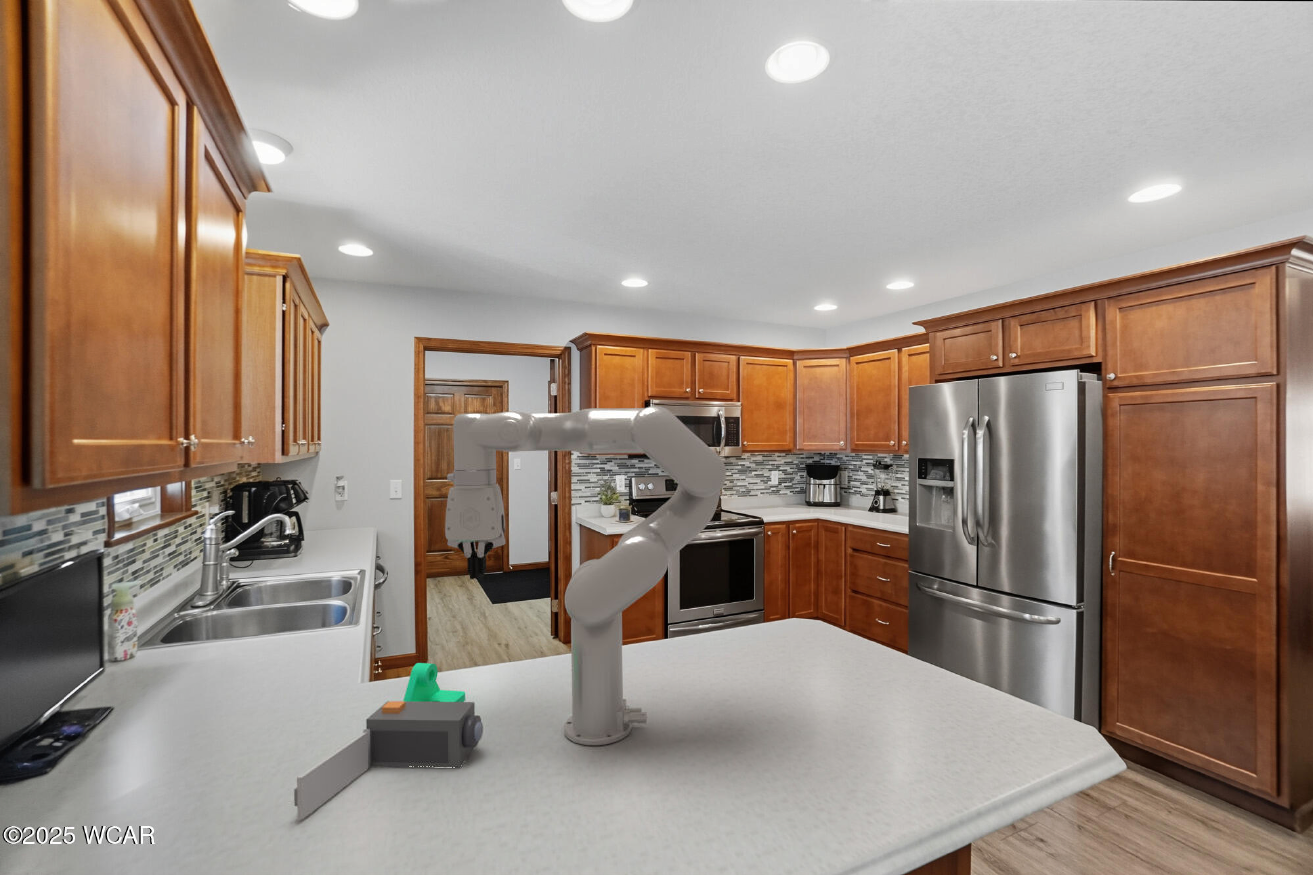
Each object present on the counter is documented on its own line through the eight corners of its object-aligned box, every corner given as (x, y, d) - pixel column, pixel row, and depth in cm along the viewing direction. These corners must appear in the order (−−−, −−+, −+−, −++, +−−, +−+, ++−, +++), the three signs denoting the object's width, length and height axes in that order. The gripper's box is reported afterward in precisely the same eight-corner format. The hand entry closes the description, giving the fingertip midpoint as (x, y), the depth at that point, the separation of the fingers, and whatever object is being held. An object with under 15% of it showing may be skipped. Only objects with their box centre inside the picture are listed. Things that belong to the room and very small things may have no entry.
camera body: (487, 747, 107) (486, 696, 107) (472, 769, 100) (471, 714, 100) (388, 745, 108) (387, 695, 108) (366, 767, 101) (365, 713, 101)
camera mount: (435, 731, 113) (434, 677, 113) (399, 728, 115) (398, 675, 115) (467, 704, 125) (466, 654, 125) (433, 701, 127) (433, 653, 127)
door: (302, 820, 86) (302, 776, 87) (294, 819, 87) (293, 775, 87) (371, 767, 101) (371, 728, 101) (364, 766, 101) (364, 728, 101)
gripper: (427, 481, 109) (429, 582, 109) (508, 480, 108) (510, 582, 108) (444, 478, 117) (446, 573, 116) (520, 477, 116) (522, 573, 115)
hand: (477, 577), depth 112 cm, fingers closed
